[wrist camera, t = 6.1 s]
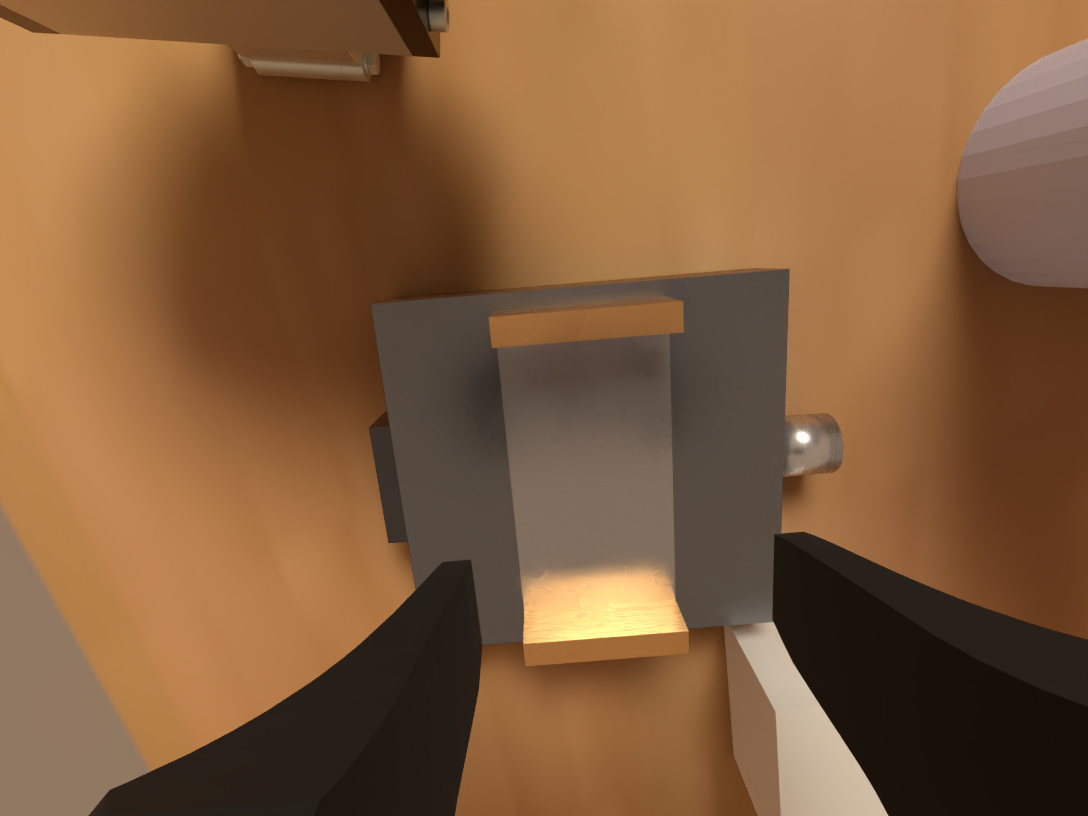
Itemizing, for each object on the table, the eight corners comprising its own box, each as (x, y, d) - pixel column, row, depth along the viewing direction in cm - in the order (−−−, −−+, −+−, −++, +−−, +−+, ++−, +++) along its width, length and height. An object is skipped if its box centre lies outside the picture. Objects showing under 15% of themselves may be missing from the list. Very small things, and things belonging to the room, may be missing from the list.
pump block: (811, 598, 21) (891, 696, 17) (815, 742, 23) (889, 869, 18) (722, 610, 22) (775, 711, 17) (732, 753, 23) (784, 882, 18)
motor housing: (816, 263, 18) (900, 263, 14) (803, 576, 21) (868, 653, 17) (368, 300, 18) (318, 311, 14) (417, 606, 21) (388, 690, 17)
